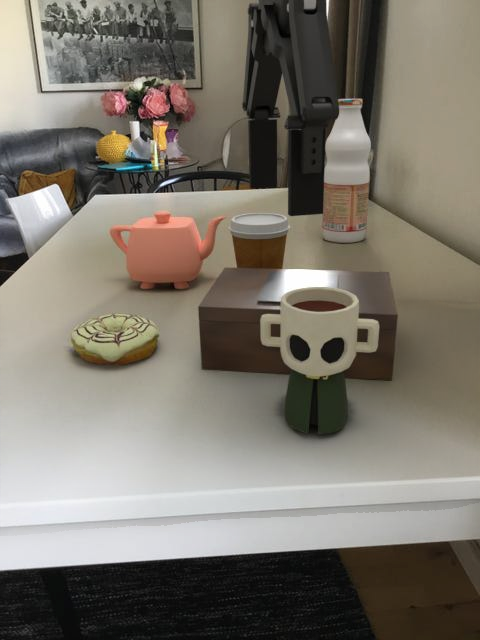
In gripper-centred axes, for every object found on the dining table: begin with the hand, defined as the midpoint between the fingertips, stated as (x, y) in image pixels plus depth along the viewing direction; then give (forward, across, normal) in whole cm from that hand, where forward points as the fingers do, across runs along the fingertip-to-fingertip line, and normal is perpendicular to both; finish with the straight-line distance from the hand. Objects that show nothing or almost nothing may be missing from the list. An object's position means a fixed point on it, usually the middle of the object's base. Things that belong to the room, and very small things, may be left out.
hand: (281, 199), depth 51 cm
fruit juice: (+22, -62, +32) cm, 73 cm away
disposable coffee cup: (+22, -34, +6) cm, 41 cm away
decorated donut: (+22, -18, -17) cm, 33 cm away
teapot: (+22, -44, -7) cm, 49 cm away
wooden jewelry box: (+21, -13, +6) cm, 25 cm away
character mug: (+22, +4, +2) cm, 22 cm away
